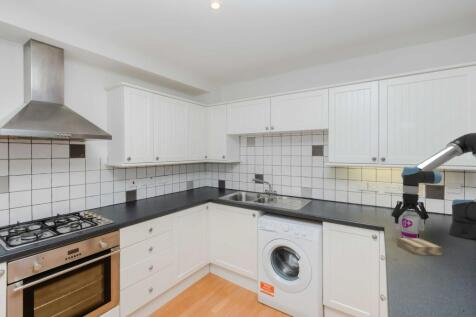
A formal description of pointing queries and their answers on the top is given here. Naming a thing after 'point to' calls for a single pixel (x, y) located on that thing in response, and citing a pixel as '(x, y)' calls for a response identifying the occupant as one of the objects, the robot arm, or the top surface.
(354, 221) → the top surface
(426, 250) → the oak base
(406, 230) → the supplement can
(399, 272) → the top surface
